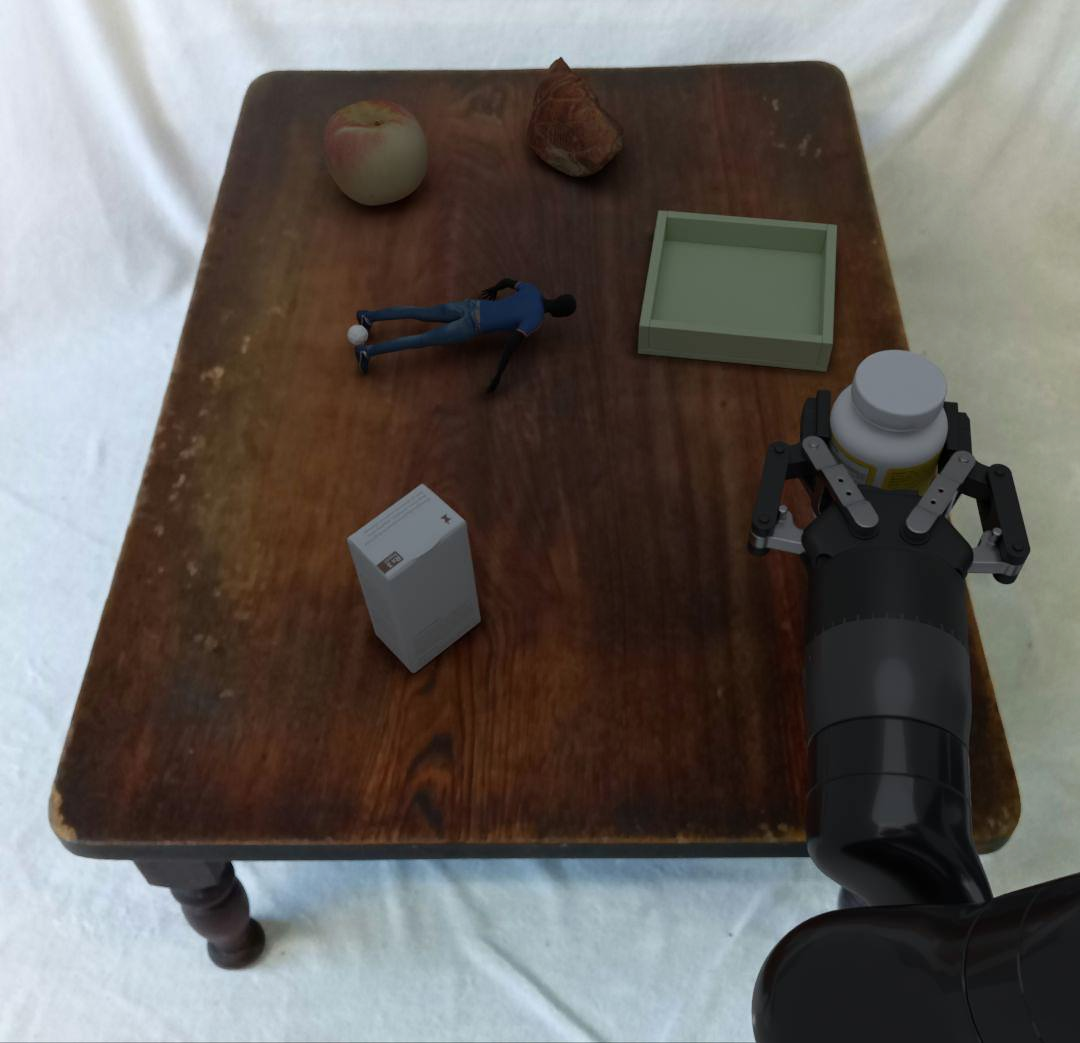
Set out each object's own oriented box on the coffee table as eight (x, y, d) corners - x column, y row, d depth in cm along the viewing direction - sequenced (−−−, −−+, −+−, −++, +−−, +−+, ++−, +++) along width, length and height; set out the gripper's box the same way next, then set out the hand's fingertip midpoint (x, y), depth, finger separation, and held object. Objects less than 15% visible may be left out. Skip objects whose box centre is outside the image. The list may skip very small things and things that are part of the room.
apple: (315, 190, 107) (298, 112, 100) (395, 148, 110) (383, 70, 103) (372, 238, 103) (357, 160, 96) (453, 192, 106) (444, 114, 99)
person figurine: (358, 419, 93) (587, 383, 91) (340, 380, 89) (578, 342, 87) (363, 319, 99) (577, 283, 97) (347, 279, 95) (568, 241, 93)
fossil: (522, 68, 111) (569, 6, 102) (601, 97, 114) (654, 39, 105) (508, 190, 107) (556, 137, 99) (591, 216, 111) (644, 167, 102)
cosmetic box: (442, 584, 81) (422, 474, 72) (485, 625, 79) (471, 517, 70) (371, 638, 79) (340, 532, 69) (413, 682, 77) (388, 579, 67)
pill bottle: (920, 480, 71) (968, 349, 62) (911, 562, 68) (960, 436, 59) (816, 461, 72) (848, 329, 64) (801, 541, 69) (834, 413, 60)
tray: (830, 253, 100) (837, 224, 97) (826, 372, 92) (833, 343, 89) (656, 238, 101) (658, 209, 99) (637, 353, 94) (638, 325, 91)
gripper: (1069, 644, 53) (1037, 370, 62) (741, 605, 54) (760, 345, 64) (1020, 722, 59) (998, 461, 68) (726, 685, 60) (745, 436, 70)
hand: (883, 406), depth 66 cm, fingers closed on pill bottle, 6 cm apart
